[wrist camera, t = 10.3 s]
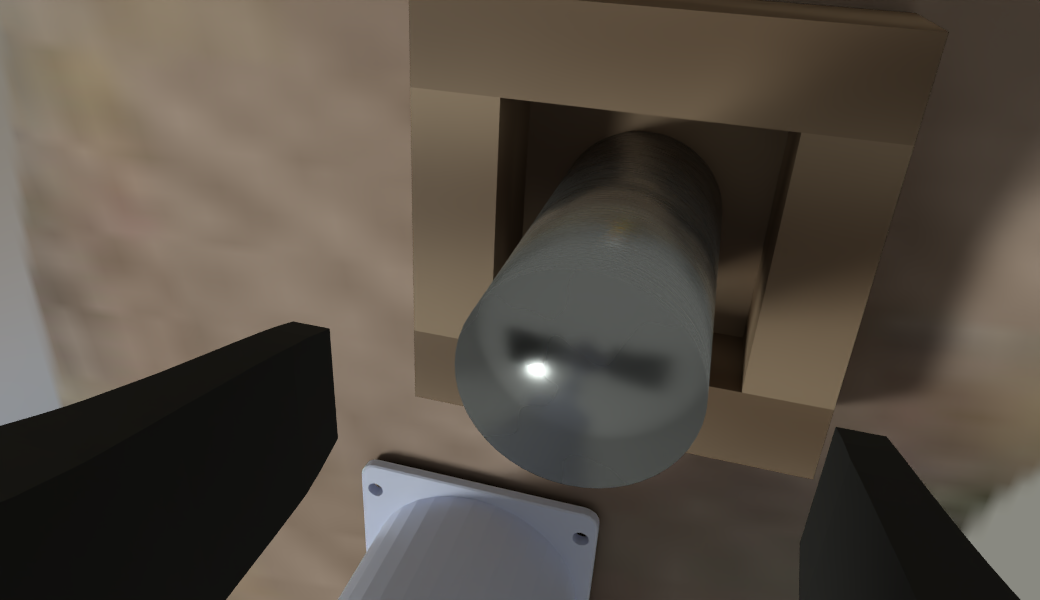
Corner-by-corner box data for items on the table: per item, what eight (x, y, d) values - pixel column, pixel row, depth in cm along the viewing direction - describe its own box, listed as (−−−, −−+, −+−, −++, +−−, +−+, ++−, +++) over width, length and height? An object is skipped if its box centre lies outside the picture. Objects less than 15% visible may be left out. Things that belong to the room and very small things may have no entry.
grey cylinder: (707, 296, 19) (686, 511, 12) (554, 271, 20) (453, 460, 13) (736, 141, 17) (729, 293, 10) (565, 121, 18) (454, 250, 11)
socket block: (805, 407, 20) (812, 479, 18) (454, 340, 22) (415, 396, 20) (916, 13, 16) (949, 32, 13) (458, -25, 18) (408, -14, 15)
